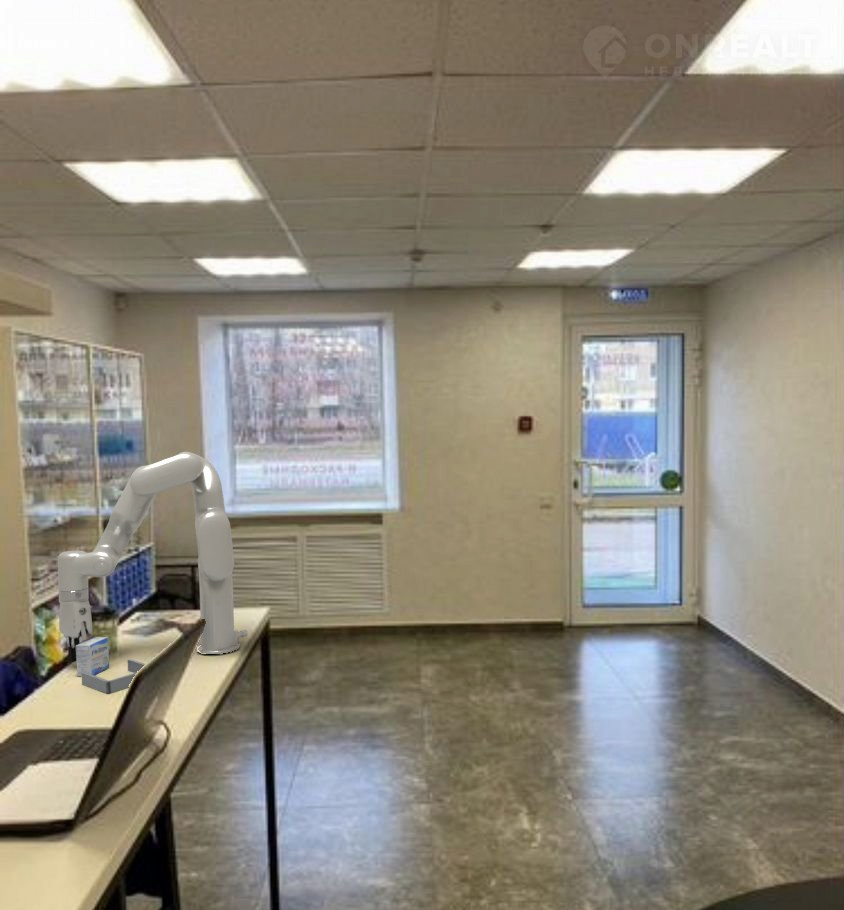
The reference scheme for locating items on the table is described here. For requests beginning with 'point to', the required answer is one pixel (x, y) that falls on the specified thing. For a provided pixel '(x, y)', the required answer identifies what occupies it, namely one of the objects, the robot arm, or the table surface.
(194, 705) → the table surface
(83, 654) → the medicine box
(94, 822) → the table surface
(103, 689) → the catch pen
